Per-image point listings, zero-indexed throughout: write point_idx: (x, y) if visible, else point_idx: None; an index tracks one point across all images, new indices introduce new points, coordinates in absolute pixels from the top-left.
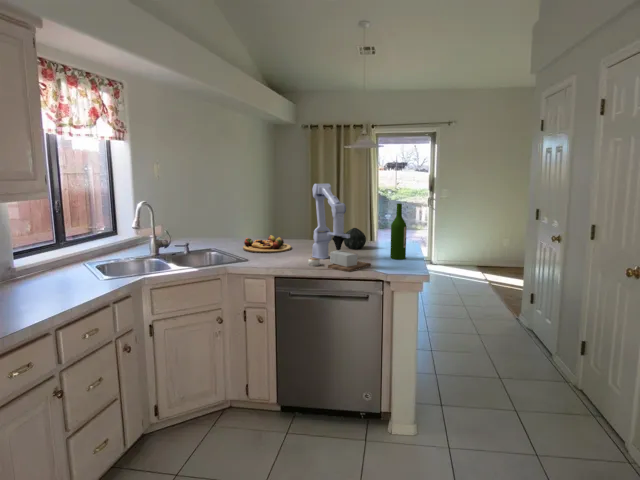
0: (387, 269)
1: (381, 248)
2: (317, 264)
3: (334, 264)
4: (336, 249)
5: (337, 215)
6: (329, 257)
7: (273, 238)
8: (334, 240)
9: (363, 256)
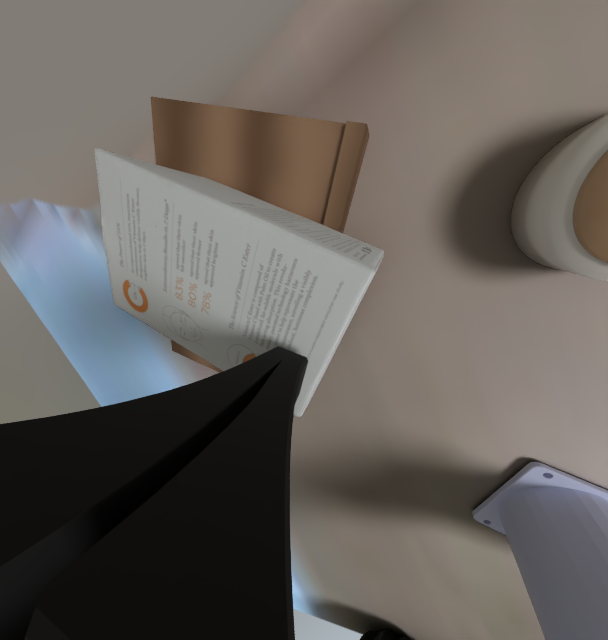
0: (98, 292)
1: (300, 606)
2: (541, 164)
3: (325, 215)
4: (302, 358)
5: None
6: (484, 501)
7: None
8: (223, 507)
9: (299, 510)
